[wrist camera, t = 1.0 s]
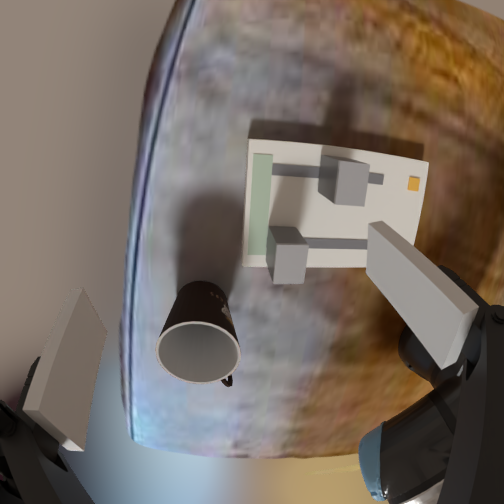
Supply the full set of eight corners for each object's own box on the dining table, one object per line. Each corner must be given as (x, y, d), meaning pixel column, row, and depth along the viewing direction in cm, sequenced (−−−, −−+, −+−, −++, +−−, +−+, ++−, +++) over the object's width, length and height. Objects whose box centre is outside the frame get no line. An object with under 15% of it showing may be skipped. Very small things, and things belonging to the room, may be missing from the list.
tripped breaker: (347, 157, 31) (370, 164, 26) (343, 193, 32) (364, 206, 27) (321, 154, 30) (340, 160, 25) (317, 191, 32) (335, 204, 27)
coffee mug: (165, 272, 36) (149, 320, 27) (236, 272, 37) (241, 320, 28) (173, 346, 41) (165, 399, 32) (235, 346, 42) (239, 400, 33)
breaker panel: (420, 160, 34) (429, 162, 32) (401, 260, 39) (408, 267, 37) (247, 138, 31) (249, 139, 29) (241, 259, 37) (242, 267, 35)
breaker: (295, 226, 33) (308, 245, 28) (291, 260, 35) (303, 283, 30) (268, 225, 33) (277, 244, 28) (265, 260, 34) (273, 283, 29)
